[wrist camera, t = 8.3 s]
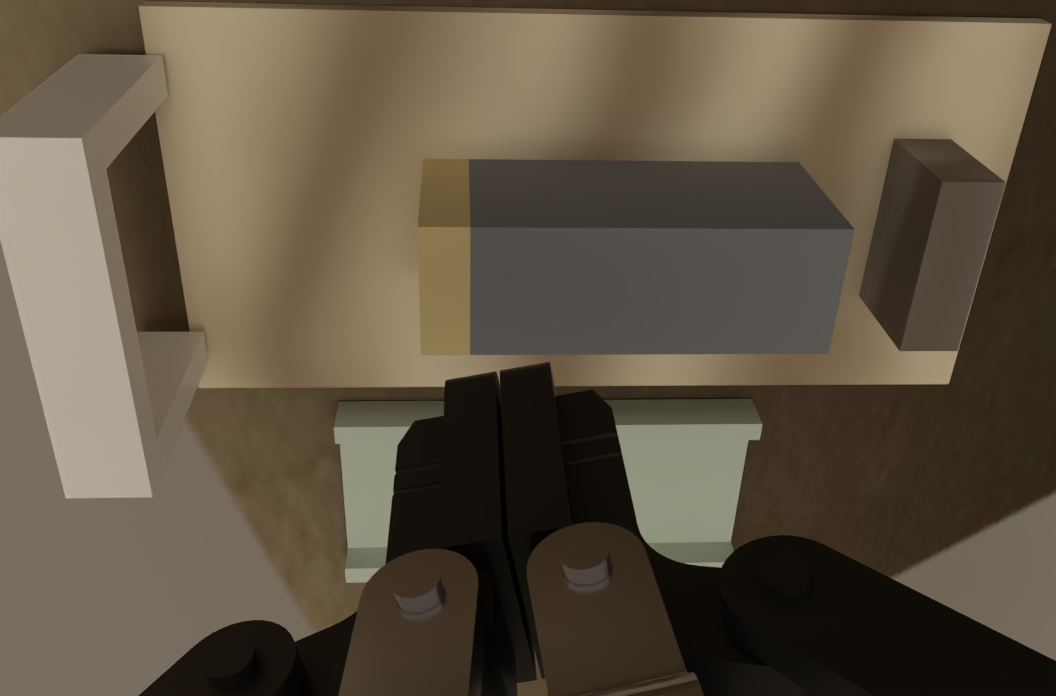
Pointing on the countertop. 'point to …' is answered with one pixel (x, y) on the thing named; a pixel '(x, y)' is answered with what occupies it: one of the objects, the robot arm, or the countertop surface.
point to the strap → (90, 279)
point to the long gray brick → (627, 258)
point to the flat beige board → (567, 134)
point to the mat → (648, 453)
